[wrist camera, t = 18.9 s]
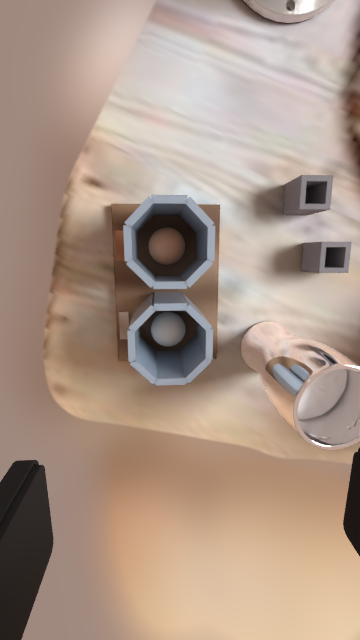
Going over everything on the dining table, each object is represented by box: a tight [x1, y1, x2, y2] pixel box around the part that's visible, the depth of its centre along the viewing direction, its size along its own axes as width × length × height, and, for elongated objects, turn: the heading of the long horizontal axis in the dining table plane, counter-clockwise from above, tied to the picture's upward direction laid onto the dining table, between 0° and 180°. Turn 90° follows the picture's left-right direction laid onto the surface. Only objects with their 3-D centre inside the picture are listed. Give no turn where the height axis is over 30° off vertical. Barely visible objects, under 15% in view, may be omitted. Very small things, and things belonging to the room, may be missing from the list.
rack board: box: [111, 204, 220, 361], centre depth 34 cm, size 17×11×1 cm, turn 0°
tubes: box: [123, 195, 215, 386], centre depth 29 cm, size 16×7×8 cm, turn 0°
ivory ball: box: [151, 312, 185, 347], centre depth 32 cm, size 4×4×4 cm
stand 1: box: [283, 175, 333, 215], centre depth 31 cm, size 3×3×4 cm
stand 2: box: [301, 242, 351, 273], centre depth 33 cm, size 3×3×4 cm
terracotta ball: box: [149, 227, 185, 265], centre depth 31 cm, size 4×4×4 cm
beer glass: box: [241, 321, 360, 450], centre depth 29 cm, size 7×7×15 cm
